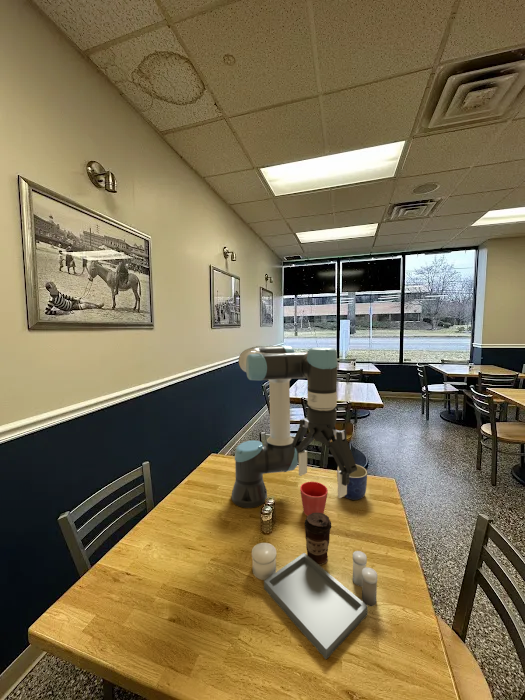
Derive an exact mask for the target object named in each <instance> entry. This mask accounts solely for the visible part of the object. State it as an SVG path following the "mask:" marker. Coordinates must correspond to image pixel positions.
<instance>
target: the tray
mask: <svg viewBox="0 0 525 700" xmlns="http://www.w3.org/2000/svg"><path fill="white" fill-rule="evenodd" d="M263 590H265V592H266V593H267V594H268V595H269V596H270V598H271V599H273V601H274V602H275V603H276V604H277V606H278V607H279V608H280V609H281V610H282V611H283V613H285V614H286V616H287V617H288V618H289V619H290V620H291V622H292V623H293V624H294V625H295V626H296V627H297V628H298V630H300V632H301V633H302V634H303V636H304V637H306V639H307V640H308V641H309V642H310V643H311V644H312V646H313V647H314V646H315V647H316V648H315V649H316V651H318V652H319V654H320V655H321V654H322V655H323V656H322V655H321V656H322V657H323V658H324V659H325V660H326V659H328V658H329V657H330V656H331V655H332V654H333V653H334V652H335V651H336V650H337V649H338V648H339V646H340V645H341V644H342V643H343V642H344V641H345V640H346V639H347V638H348V637H349V635H350V634H351V633H352V632H353V631H354V630H355V629H356V628H357V627H358V626H359V624H361V622H362V621H363V620H364V619H365V618H366V617H367V616H368V607H369V606H368V605H366V604H365V603H364V602H363V600H362V599H360V598H359V597H358V596H357V595H355V594H354V593H353V592H352V591H351V590H349V589H348V588H347V587H346V586H344V585H343V583H341V582H340V581H339V580H338V579H336V578H335V577H334V576H333V575H331V574H330V572H328V571H327V570H326V569H324V567H322V566H321V564H320V565H319V564H317V563H316V562H315V561H314V560H312V559H311V558H310V557H309V556H308V555H307V553H305V552H303V553H301V554H300V555H299V556H298V557H296V558H294V559H293V560H292V561H290V562H289V563H287V564H286V565H284V566H283V567H282V568H280V569H278V570H276V573H274V574H273V575H271V576H270V577H268V578H267V579H266V580H263Z"/></svg>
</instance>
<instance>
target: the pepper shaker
mask: <svg viewBox="0 0 525 700" xmlns="http://www.w3.org/2000/svg"><path fill="white" fill-rule="evenodd" d="M377 584H378V573H377V571H376V570H375V569H374V568H372V567H369V566H366V568H364V569H363V570H362V586H361V591H362V593H361V601H363V602H364V603H365V604H366V605H367V606H368V607H374V606H376V605H377V592H378V591H377V589H378V588H377V587H378V585H377Z"/></svg>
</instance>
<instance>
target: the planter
mask: <svg viewBox="0 0 525 700" xmlns="http://www.w3.org/2000/svg"><path fill="white" fill-rule="evenodd" d="M356 466H357V471H355V472H353V473H351V474H350V478H349V479H350V480H349V484H348V485H347V494H346V495H345V496H343V497H344V498H346V499H349V500H354V501H355V500H361V499H362V498H363V497H365V495H366V491H367V481H368V471H367V469H366V468H365V467H363V466H362V465H360V464H356ZM344 467H345V466H344ZM336 471H337V473H336V475H337V480H338V471H340V469H339V467H338V466H337V470H336Z"/></svg>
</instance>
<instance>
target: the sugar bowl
mask: <svg viewBox="0 0 525 700" xmlns="http://www.w3.org/2000/svg"><path fill="white" fill-rule="evenodd" d="M251 558H252V574H253V576H254V577H255V578H257V579H258V580H262V581H264V580H266V579H267V578H268V577H270V576H271V575H273V574H274V573H276V572H277V568H276V567H277V549H276V547H275V546H274V545H273V544H271V543H269V542H259V543H257V544H255V545H254V546H253V547H252V550H251Z"/></svg>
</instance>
